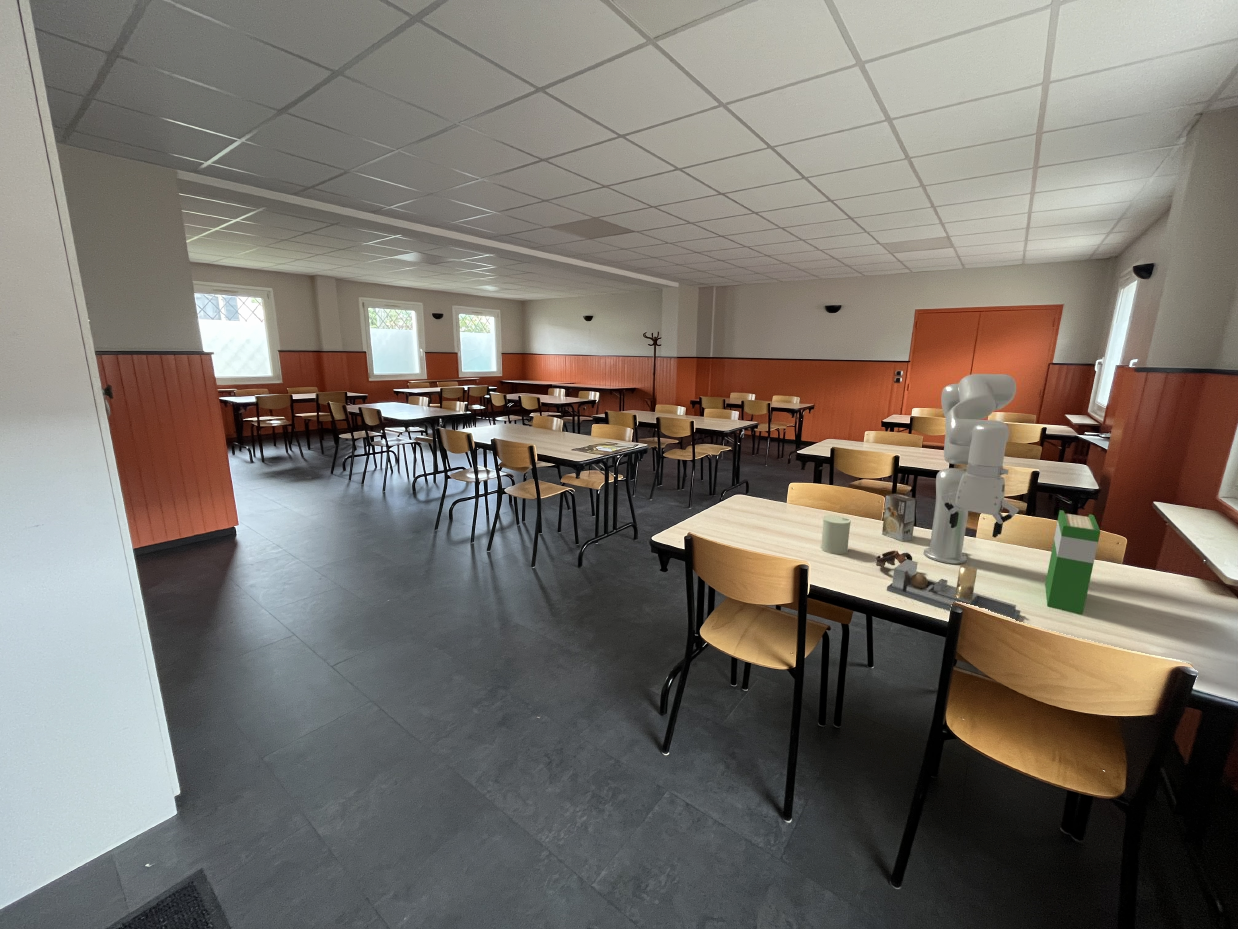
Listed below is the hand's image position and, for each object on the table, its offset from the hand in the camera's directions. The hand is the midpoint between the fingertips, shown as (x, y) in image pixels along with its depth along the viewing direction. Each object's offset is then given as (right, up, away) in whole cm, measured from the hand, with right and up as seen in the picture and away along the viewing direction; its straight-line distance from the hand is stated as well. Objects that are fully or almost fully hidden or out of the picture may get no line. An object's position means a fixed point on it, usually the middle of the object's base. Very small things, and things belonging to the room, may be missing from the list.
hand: (974, 531), depth 138 cm
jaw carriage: (-1, -20, +6) cm, 21 cm away
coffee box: (+11, -10, +59) cm, 61 cm away
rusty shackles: (-7, -17, +27) cm, 33 cm away
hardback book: (+32, -21, +9) cm, 39 cm away
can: (-19, -13, +46) cm, 51 cm away
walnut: (-8, -16, +12) cm, 22 cm away
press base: (-2, -21, +7) cm, 22 cm away
